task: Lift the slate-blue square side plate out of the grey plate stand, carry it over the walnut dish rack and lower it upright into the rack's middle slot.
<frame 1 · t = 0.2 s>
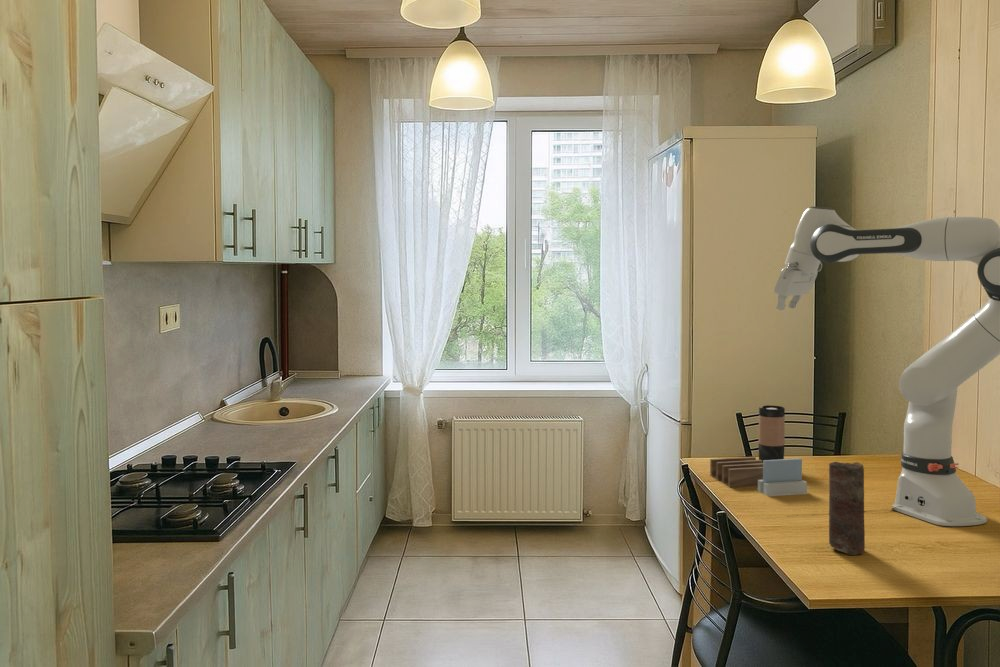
hand: (785, 308, 232), 51 cm above the table, tool tilted 20°, fingers open, 8 cm apart
plate stand: (782, 495, 226), on the table
dark brown tall block: (846, 550, 182), on the table
side plate: (782, 491, 225), point 1 cm above the table, touching plate stand
dish rack: (742, 483, 238), on the table
travel mug: (771, 471, 252), on the table
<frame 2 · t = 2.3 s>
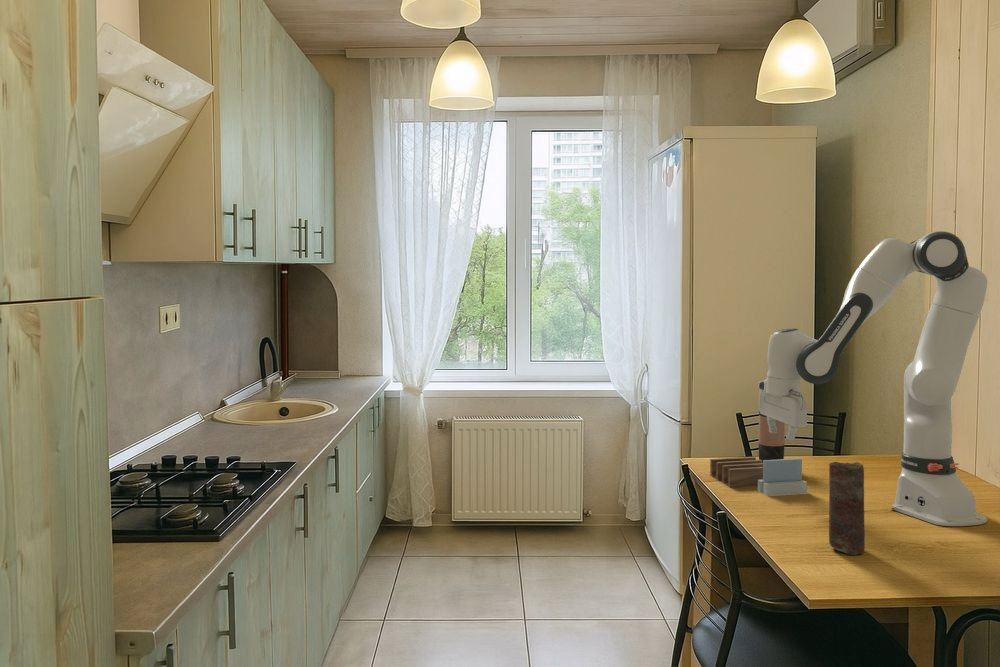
hand: (781, 436, 224), 16 cm above the table, tool pointing down, fingers open, 8 cm apart
nothing on the table moved.
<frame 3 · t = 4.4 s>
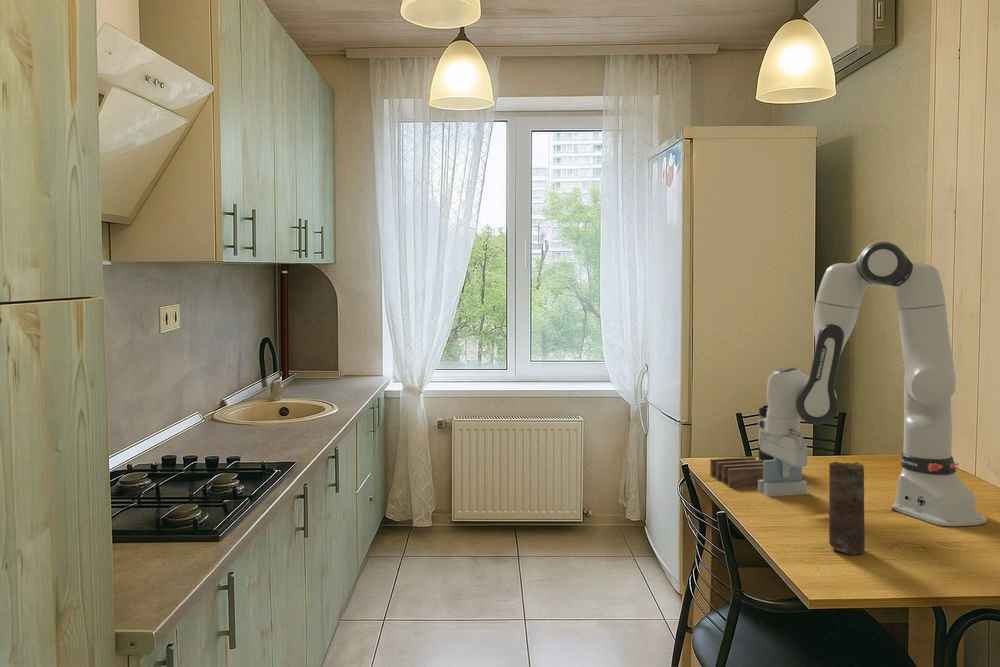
hand: (782, 475, 225), 6 cm above the table, tool pointing down, fingers closed on side plate, 1 cm apart
side plate: (782, 491, 225), point 1 cm above the table, touching gripper, plate stand
everything else where it was.
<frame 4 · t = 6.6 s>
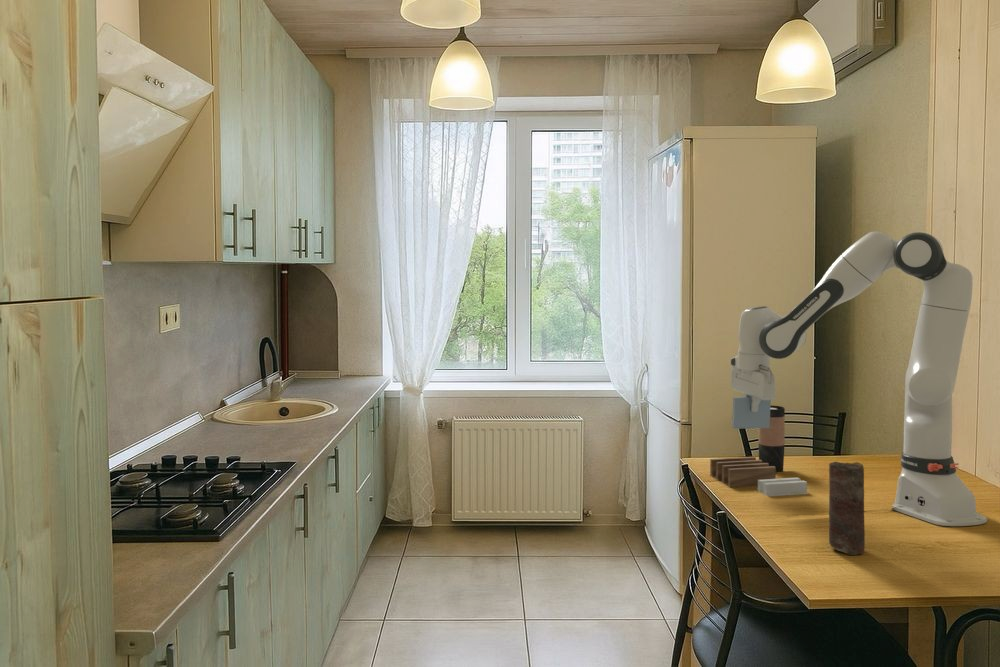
hand: (751, 410, 233), 22 cm above the table, tool pointing down, fingers closed on side plate
side plate: (750, 427, 234), point 17 cm above the table, touching gripper
everything else where it was.
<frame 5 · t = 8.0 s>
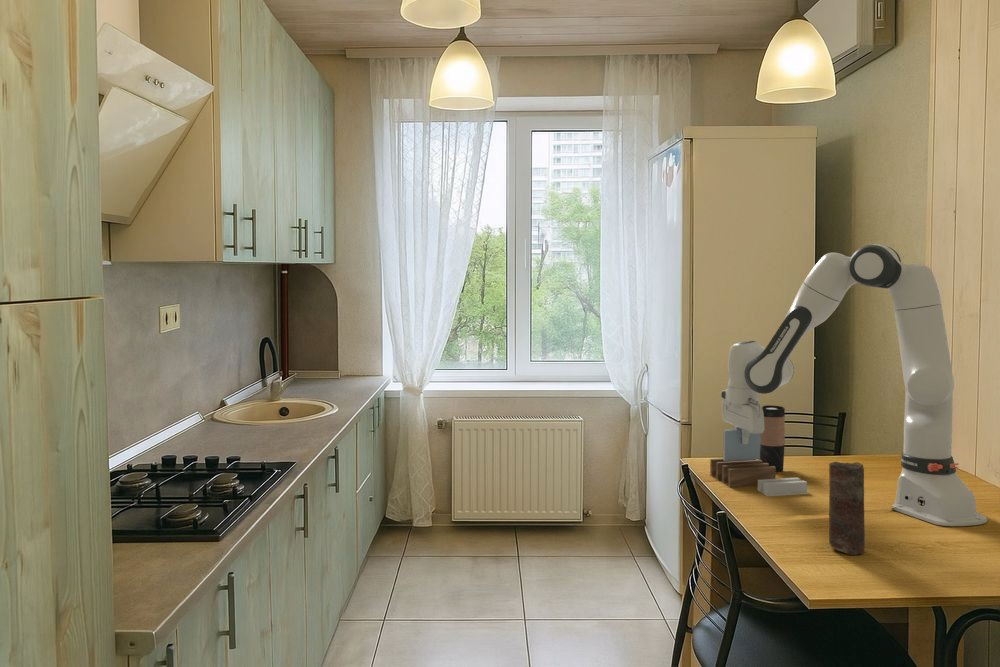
hand: (742, 442, 238), 12 cm above the table, tool pointing down, fingers closed on side plate
side plate: (741, 459, 238), point 7 cm above the table, touching gripper
everything else where it was.
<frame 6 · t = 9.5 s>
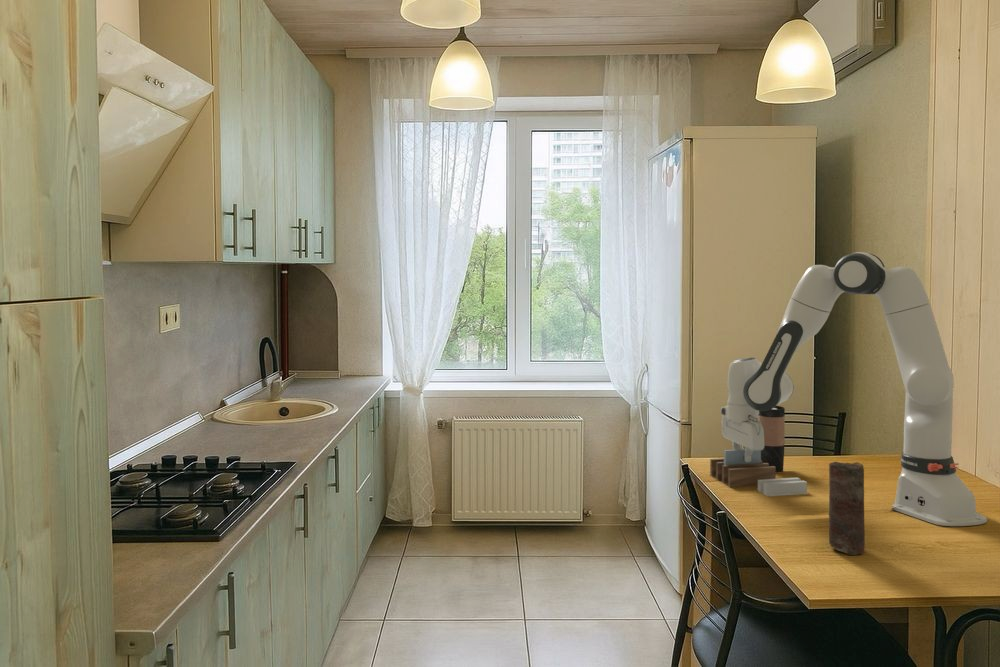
hand: (742, 459, 238), 7 cm above the table, tool pointing down, fingers open, 4 cm apart
side plate: (742, 479, 238), point 1 cm above the table, touching dish rack
everything else where it was.
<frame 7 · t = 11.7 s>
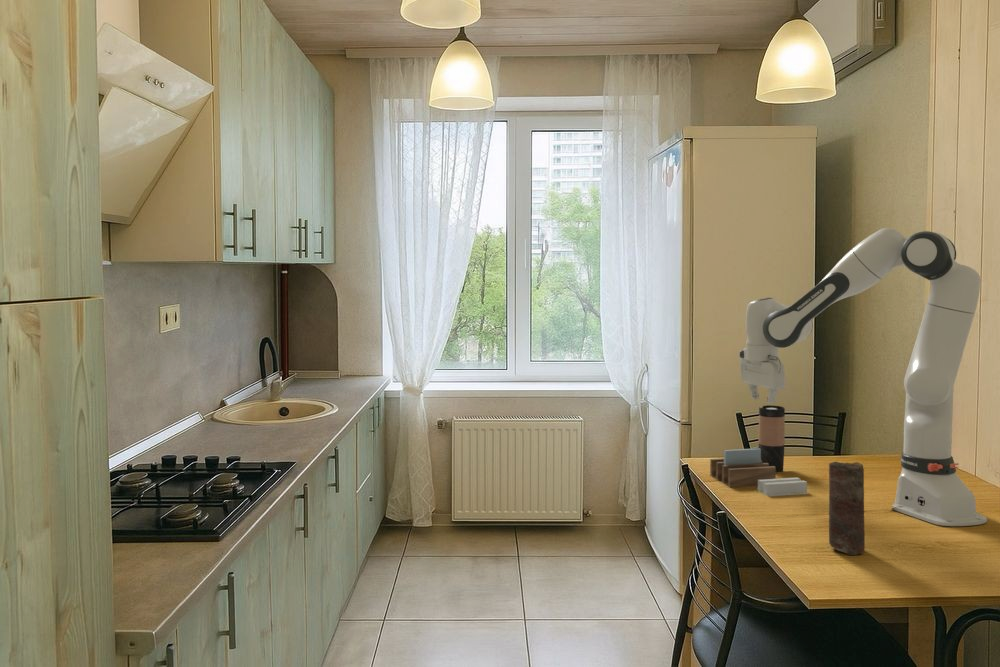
hand: (763, 401, 236), 24 cm above the table, tool pointing down, fingers open, 8 cm apart
nothing on the table moved.
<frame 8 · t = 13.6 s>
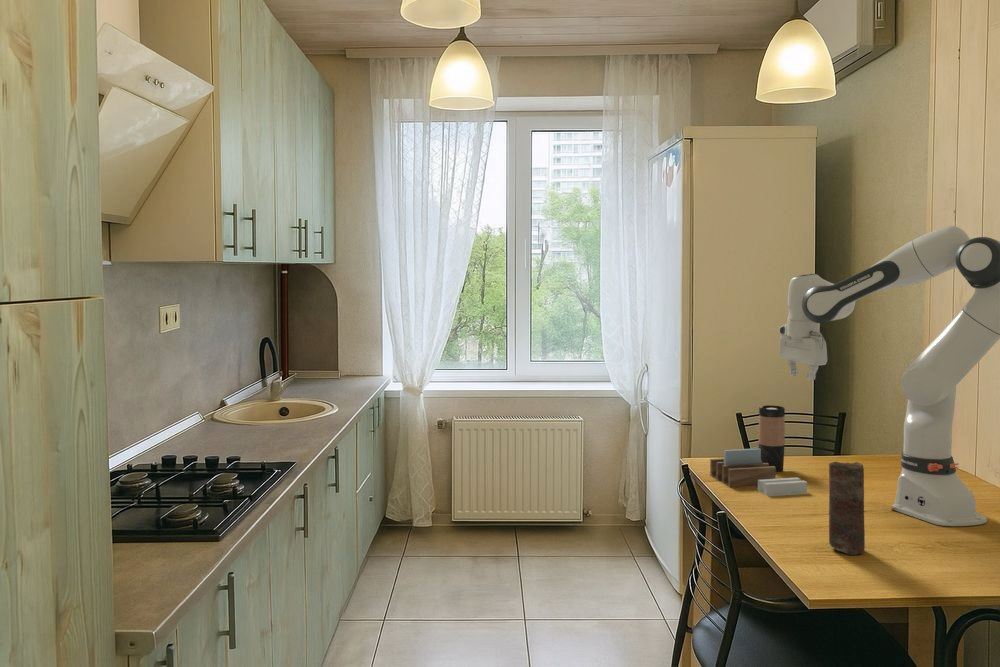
hand: (802, 377, 236), 31 cm above the table, tool pointing down, fingers open, 8 cm apart
nothing on the table moved.
at the end: side plate 0.1 cm off-centre on the dish rack, point 1.0 cm above the dish rack's base; side plate tilted 0°; the gripper is holding nothing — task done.
